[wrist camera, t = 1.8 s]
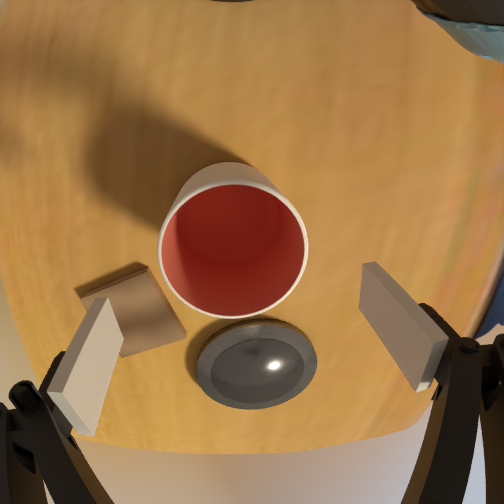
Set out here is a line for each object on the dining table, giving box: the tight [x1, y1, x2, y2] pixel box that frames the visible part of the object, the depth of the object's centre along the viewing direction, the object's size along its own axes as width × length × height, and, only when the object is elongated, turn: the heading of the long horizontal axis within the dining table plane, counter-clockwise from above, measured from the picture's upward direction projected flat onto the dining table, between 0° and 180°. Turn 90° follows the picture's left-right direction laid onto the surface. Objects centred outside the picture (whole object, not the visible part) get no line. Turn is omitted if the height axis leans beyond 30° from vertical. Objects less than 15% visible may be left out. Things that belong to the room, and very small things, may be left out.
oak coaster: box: [80, 267, 187, 358], centre depth 32 cm, size 9×9×1 cm
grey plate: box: [197, 319, 317, 409], centre depth 36 cm, size 15×15×2 cm
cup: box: [157, 162, 308, 319], centre depth 25 cm, size 10×10×10 cm
